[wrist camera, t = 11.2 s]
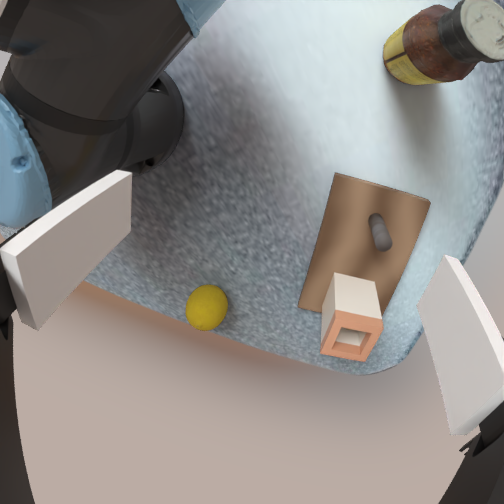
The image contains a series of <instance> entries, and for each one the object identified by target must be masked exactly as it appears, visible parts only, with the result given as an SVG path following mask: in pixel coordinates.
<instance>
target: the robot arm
mask: <svg viewBox="0 0 504 504" xmlns="http://www.w3.org/2000/svg"><path fill="white" fill-rule="evenodd" d="M224 2H225V0H0V50H2V51H5V52H8V53H11V54H12V55H11V57H10V60H9V62H8V64H7V66H6V69H5V71H4V73H3V76H2V78H1V81H0V225H2V226H5V227H10V228H14V229H18V228H21V229H20V230H19V231H17V233H14V234H13V235H12V236H10V237H9V238H8V239H7V240H5V241H4V242H3V243H1V244H0V504H35V502H34V499H33V495H32V491H31V488H30V484H29V479H28V475H27V471H26V466H25V461H24V456H23V451H22V445H21V439H20V433H19V426H18V419H17V409H16V400H15V387H14V371H13V370H14V369H13V320H12V316H11V314H12V312H14V311H15V310H16V309H17V311H18V313H19V316H20V319H21V322H22V323H24V324H26V325H28V326H30V327H32V328H33V329H35V330H39V329H40V328H41V327H42V325H43V324H44V323H45V322H46V321H47V320H48V318H49V317H50V316H51V315H52V314H53V313H54V312H55V310H56V309H57V308H58V307H59V306H60V305H61V304H62V303H63V301H64V300H65V299H66V298H67V297H68V296H69V294H71V293H72V291H73V290H74V289H75V288H76V287H77V286H78V285H79V284H80V283H81V282H82V281H83V280H84V278H85V277H86V276H87V275H88V274H89V273H90V272H91V271H92V270H93V269H94V268H95V267H96V266H97V265H98V264H99V263H100V262H101V261H102V260H103V259H104V258H105V257H106V256H107V255H108V254H109V253H110V252H111V251H112V250H113V249H114V248H115V247H116V246H117V245H118V244H119V243H120V242H121V241H122V240H123V239H124V238H125V237H126V236H127V235H128V234H129V233H130V232H131V192H132V177H133V176H138V175H141V174H144V173H146V172H148V171H150V170H152V169H153V168H155V167H157V166H158V165H160V164H161V163H163V162H164V161H165V160H166V159H167V158H168V157H169V156H170V154H171V153H172V152H173V150H174V149H175V147H176V145H177V143H178V141H179V138H180V136H181V132H182V128H183V119H184V112H183V103H182V99H181V96H180V93H179V90H178V88H177V86H176V84H175V83H174V81H173V80H172V79H171V77H170V76H169V75H168V74H167V73H166V72H165V71H164V70H165V69H166V68H167V66H168V65H169V64H170V63H171V62H172V61H173V59H174V58H175V57H176V56H177V55H178V54H179V53H180V52H181V50H182V49H183V48H184V47H185V46H186V45H187V44H188V43H189V42H190V41H191V40H192V38H193V37H194V38H196V37H197V36H198V35H199V32H200V29H201V28H202V26H203V25H204V24H205V23H206V22H207V21H208V20H209V18H210V17H211V16H212V15H213V14H214V13H215V12H216V11H217V10H218V9H219V8H220V7H221V5H222V4H223V3H224ZM24 227H25V228H24ZM416 306H417V309H418V312H419V315H420V318H421V321H422V324H423V327H424V330H425V334H426V337H427V340H428V344H429V347H430V351H431V354H432V358H433V361H434V365H435V369H436V372H437V376H438V380H439V384H440V388H441V392H442V397H443V401H444V405H445V410H446V415H447V420H448V425H449V429H450V435H467V434H468V433H469V432H471V431H472V430H473V429H474V428H475V427H477V426H478V425H479V427H480V431H481V432H480V433H479V434H478V435H476V436H475V437H474V438H473V439H472V440H470V441H469V442H468V443H467V444H465V445H464V446H463V447H462V448H461V449H460V450H459V451H461V452H462V451H463V450H465V449H466V448H469V450H468V452H466V453H465V454H464V455H465V458H464V460H463V462H462V464H461V465H460V468H459V469H458V471H457V473H456V475H455V477H454V478H453V480H452V482H451V484H450V486H449V487H448V489H447V490H446V492H445V494H444V495H443V497H442V499H441V500H440V502H439V504H504V338H503V337H502V336H501V335H500V333H499V331H498V329H497V327H496V325H495V323H494V321H493V319H492V317H491V315H490V313H489V311H488V310H487V308H486V306H485V304H484V302H483V300H482V298H481V297H480V295H479V293H478V291H477V290H476V288H475V286H474V285H473V283H472V281H471V279H470V278H469V276H468V274H467V273H466V271H465V270H464V268H463V266H462V265H461V263H460V262H459V260H458V259H456V258H453V257H450V256H447V255H444V256H443V258H442V260H441V262H440V264H439V266H438V268H437V269H436V271H435V273H434V275H433V277H432V279H431V281H430V282H429V284H428V286H427V288H426V290H425V291H424V293H423V295H422V297H421V298H420V300H419V302H418V304H417V305H416Z"/></svg>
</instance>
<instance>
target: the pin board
mask: <svg viewBox="0 0 504 504" xmlns="http://www.w3.org/2000/svg"><path fill="white" fill-rule="evenodd" d="M430 204H431V203H430V201H429V200H428V199H425V198H422V197H419V196H416V195H412V194H409V193H406V192H403V191H399V190H396V189H393V188H390V187H386V186H383V185H379V184H376V183H372V182H369V181H365V180H362V179H358V178H354V177H350V176H347V175H343V174H339V173H335V175H334V178H333V182H332V186H331V190H330V194H329V198H328V202H327V205H326V209H325V213H324V216H323V220H322V224H321V227H320V231H319V234H318V238H317V242H316V245H315V249H314V252H313V255H312V259H311V262H310V266H309V269H308V272H307V276H306V279H305V282H304V286H303V289H302V292H301V295H300V299H299V302H298V308H303V309H307V310H311V311H316V312H320V313H322V305H323V302H324V300H325V297H326V294H327V291H328V289H329V286H330V283H331V280H332V277H333V274H334V272H335V273H339V274H344V275H348V276H352V277H356V278H361V279H365V280H369V281H373V282H375V286H376V291H377V296H378V301H379V306H380V311H381V316H382V315H383V313H384V311H385V309H386V307H387V305H388V303H389V301H390V299H391V297H392V295H393V293H394V291H395V289H396V286H397V284H398V282H399V280H400V278H401V276H402V273H403V271H404V269H405V267H406V264H407V262H408V260H409V257H410V255H411V253H412V250H413V248H414V245H415V243H416V241H417V238H418V236H419V233H420V231H421V228H422V225H423V223H424V220H425V217H426V215H427V212H428V209H429V207H430ZM345 329H347V330H352V329H348V328H345Z"/></svg>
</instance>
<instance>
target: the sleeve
mask: <svg viewBox="0 0 504 504" xmlns="http://www.w3.org/2000/svg"><path fill="white" fill-rule="evenodd" d="M345 328H348V329H352V330H347V329H345ZM383 329H384V327H383V322H382V316H381V311H380V306H379V301H378V296H377V291H376V286H375V282H373V281H369V280H365V279H361V278H356V277H352V276H348V275H344V274H339V273H335V272H334V274H333V277H332V280H331V283H330V286H329V289H328V291H327V294H326V297H325V300H324V302H323V305H322V328H321V349H320V354H325V355H330V356H335V357H340V358H346V359H351V360H357V361H362V362H365V361H366V359H367V357H368V356H369V354H370V352H371V350H372V349H373V347H374V345H375V343H376V341H377V340H378V338H379V336H380V334H381V332H382V331H383Z"/></svg>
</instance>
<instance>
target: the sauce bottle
mask: <svg viewBox="0 0 504 504" xmlns="http://www.w3.org/2000/svg"><path fill="white" fill-rule="evenodd" d="M383 59H384V64H385V66H386V68H387V70H388V71H389V72H390V74H391V75H393V76H394V77H395V78H396V79H398V80H399V81H401V82H403V83H407V84H411V85H423V84H434V83H444V82H453V81H456V80H463V79H464V78H465V77H466V76H467V75H468V74H469V73H470V72H471V71H472V70H473V69H474V67H475V66H476V64H477V63H478V62H480V61H483V62H486V63H494V62H499V61H503V60H504V9H503V8H502V7H501V6H500V5H498V4H497V3H496V2H494V1H493V0H462V1H460V2H458V4H457V5H456V6H455V8H454V9H453V10H452V9H449V8H446V7H445V6H442V5H433V6H431V7H429V8H426V9H424V10H421V11H420V12H419V13H418V14H416V15H415V16H413V17H412V18H410V19H409V20H408V21H407V22H406V23H405V24H403V25H402V26H401V27H400V28H399V29H398V30H396V31H395V32H394V33H393V34H392V35H391V36H390V37H389V38H388V39H387V41H386V43H385V44H384V50H383Z"/></svg>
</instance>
